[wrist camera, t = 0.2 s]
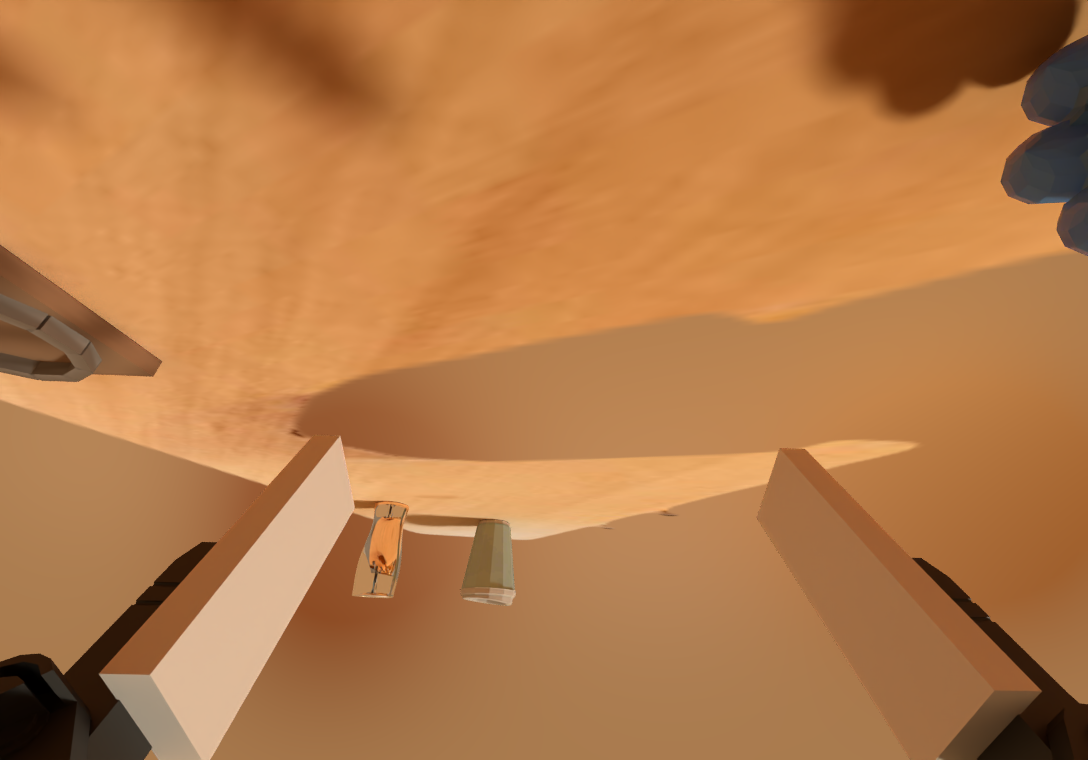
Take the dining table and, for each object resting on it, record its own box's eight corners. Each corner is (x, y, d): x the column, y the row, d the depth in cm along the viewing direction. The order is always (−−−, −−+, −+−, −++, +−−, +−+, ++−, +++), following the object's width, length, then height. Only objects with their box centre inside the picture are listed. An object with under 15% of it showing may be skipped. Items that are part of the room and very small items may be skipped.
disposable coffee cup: (468, 525, 91) (459, 604, 83) (468, 514, 82) (458, 601, 74) (517, 529, 92) (512, 606, 84) (522, 518, 83) (517, 604, 75)
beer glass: (392, 498, 73) (371, 594, 66) (419, 508, 79) (403, 598, 71) (364, 502, 76) (341, 594, 69) (392, 511, 82) (373, 597, 74)
